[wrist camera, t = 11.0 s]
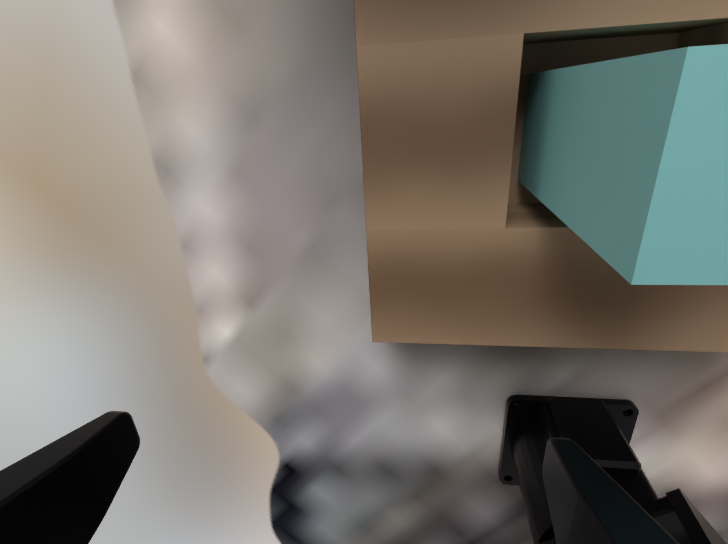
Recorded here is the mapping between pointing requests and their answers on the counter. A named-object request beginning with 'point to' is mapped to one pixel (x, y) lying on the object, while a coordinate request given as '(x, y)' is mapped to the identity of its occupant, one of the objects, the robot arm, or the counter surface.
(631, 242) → the teal peg
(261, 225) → the counter surface
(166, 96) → the counter surface
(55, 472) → the robot arm
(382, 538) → the counter surface
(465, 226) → the walnut socket
